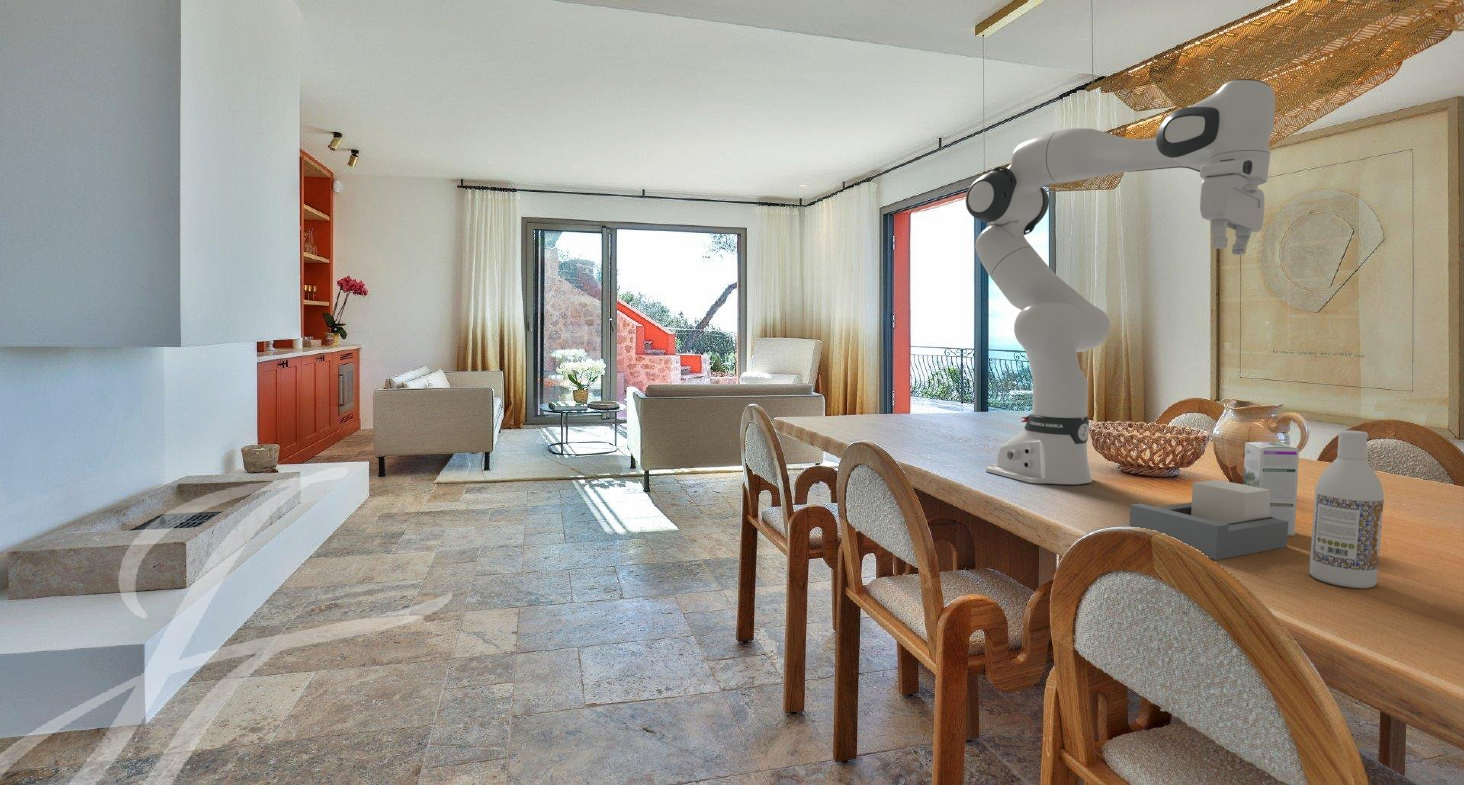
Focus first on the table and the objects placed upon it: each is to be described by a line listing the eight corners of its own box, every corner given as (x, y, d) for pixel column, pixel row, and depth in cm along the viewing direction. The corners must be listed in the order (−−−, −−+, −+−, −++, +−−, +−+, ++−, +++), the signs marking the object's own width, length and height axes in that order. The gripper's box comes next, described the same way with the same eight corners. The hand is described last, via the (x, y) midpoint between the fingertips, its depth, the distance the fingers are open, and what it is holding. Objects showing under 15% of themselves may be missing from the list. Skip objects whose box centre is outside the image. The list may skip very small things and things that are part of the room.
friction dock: (1197, 524, 126) (1199, 495, 126) (1286, 546, 113) (1288, 514, 113) (1128, 535, 119) (1130, 504, 119) (1215, 560, 107) (1217, 526, 106)
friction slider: (1214, 526, 123) (1216, 479, 123) (1267, 540, 116) (1270, 489, 115) (1190, 530, 121) (1192, 482, 120) (1242, 544, 113) (1246, 493, 113)
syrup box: (1296, 536, 119) (1302, 447, 118) (1255, 534, 120) (1260, 446, 119) (1277, 527, 125) (1283, 442, 123) (1238, 525, 126) (1244, 440, 124)
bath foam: (1381, 593, 93) (1394, 437, 92) (1311, 582, 97) (1322, 432, 95) (1371, 578, 99) (1383, 430, 97) (1306, 568, 103) (1317, 426, 101)
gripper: (1238, 186, 141) (1230, 258, 142) (1196, 165, 128) (1187, 245, 129) (1278, 181, 136) (1269, 257, 137) (1238, 159, 123) (1228, 243, 124)
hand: (1229, 251), depth 133 cm, fingers open, 8 cm apart
